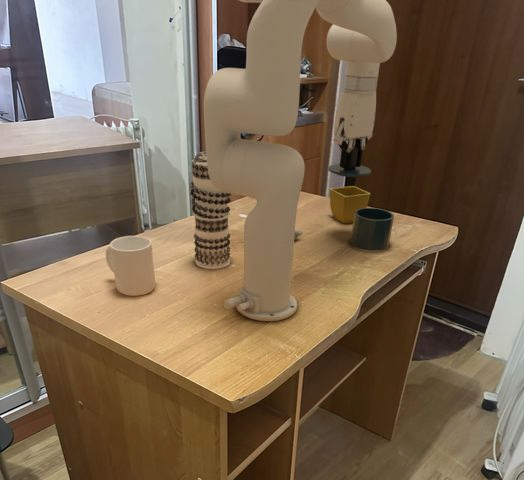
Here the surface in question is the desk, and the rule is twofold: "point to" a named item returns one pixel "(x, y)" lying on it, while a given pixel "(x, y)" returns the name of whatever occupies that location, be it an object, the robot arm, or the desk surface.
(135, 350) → the desk surface
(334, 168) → the pot lid
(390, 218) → the pot
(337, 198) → the flower pot
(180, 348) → the desk surface
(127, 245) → the mug
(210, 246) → the decorative candle
